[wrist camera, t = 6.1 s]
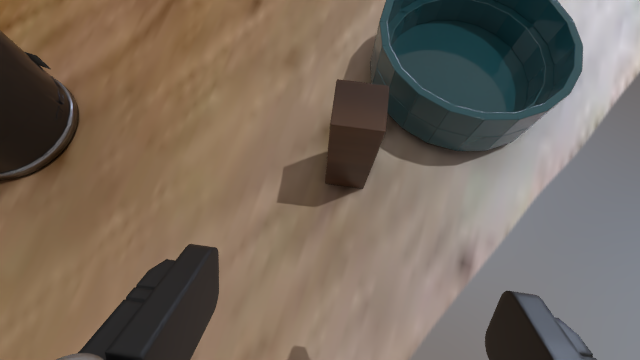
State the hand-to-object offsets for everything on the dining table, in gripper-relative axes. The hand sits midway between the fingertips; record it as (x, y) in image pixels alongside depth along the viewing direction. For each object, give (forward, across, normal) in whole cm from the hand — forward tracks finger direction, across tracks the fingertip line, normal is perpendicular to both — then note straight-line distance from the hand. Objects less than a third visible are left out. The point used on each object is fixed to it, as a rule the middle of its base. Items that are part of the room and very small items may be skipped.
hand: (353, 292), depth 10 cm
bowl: (+25, -8, -4) cm, 26 cm away
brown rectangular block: (+18, 0, +3) cm, 18 cm away
